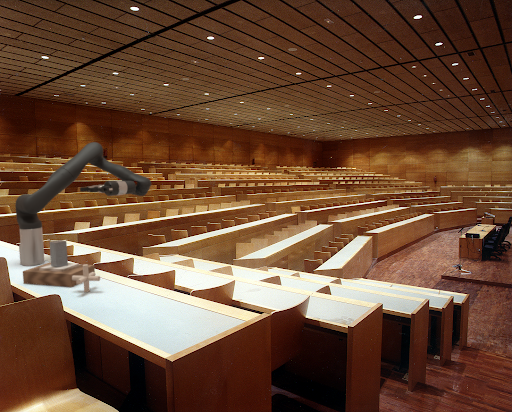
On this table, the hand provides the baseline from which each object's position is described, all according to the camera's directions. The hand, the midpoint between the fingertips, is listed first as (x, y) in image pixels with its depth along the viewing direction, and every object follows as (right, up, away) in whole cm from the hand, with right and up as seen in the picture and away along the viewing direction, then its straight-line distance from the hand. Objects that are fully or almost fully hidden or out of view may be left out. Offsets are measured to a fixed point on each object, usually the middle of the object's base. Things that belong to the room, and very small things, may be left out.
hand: (85, 189), depth 178 cm
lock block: (+1, -32, -26) cm, 41 cm away
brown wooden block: (+1, -38, -25) cm, 46 cm away
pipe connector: (+19, -39, -40) cm, 59 cm away
